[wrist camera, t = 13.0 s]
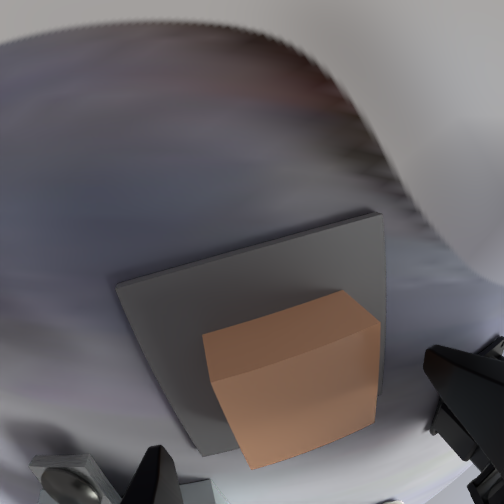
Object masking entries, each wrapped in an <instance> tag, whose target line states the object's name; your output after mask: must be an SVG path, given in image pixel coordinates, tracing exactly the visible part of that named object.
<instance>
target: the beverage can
mask: <svg viewBox="0 0 504 504" xmlns="http://www.w3.org/2000/svg"><path fill="white" fill-rule="evenodd" d="M382 504H404V503H403V502H402V501H400V500H397V501H393V502H385V503H382Z"/></svg>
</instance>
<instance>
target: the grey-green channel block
mask: <svg viewBox="0 0 504 504" xmlns="http://www.w3.org/2000/svg"><path fill="white" fill-rule="evenodd" d="M179 486H180V490H181V494H182V498H183V503H184V504H230V503H229V502H228V501H227V500H226V498H225V497H224V496H223V495H222V493H221V492H220V491H219V490H218V488H217V487H216V486H215V484H214V483H213V482H212V480H211V479H210V480H205V481H200V482H194V483H189V484H183V485H179ZM38 504H57V503H56V502H55V500H54V499H53V498H51V497H50V496H49V495H48V493H47V492H46V491H45V490H41V491H40V496H39V501H38Z"/></svg>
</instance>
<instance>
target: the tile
mask: <svg viewBox="0 0 504 504" xmlns="http://www.w3.org/2000/svg"><path fill="white" fill-rule="evenodd" d="M380 328H381V322H380V321H378V320H377V319H376V318H375V317H374V316H373V315H372V314H370V313H369V312H368V311H367V310H366V309H365V308H363V307H362V306H361V305H360V304H359V303H358V302H356V301H355V300H354V299H353V298H352V297H351V296H349V295H348V294H347V293H346V292H345V291H344V290H341V291H338V292H335V293H332V294H329V295H326V296H324V297H321V298H318V299H315V300H312V301H309V302H306V303H303V304H300V305H297V306H294V307H291V308H288V309H285V310H282V311H279V312H276V313H273V314H270V315H266V316H263V317H260V318H257V319H254V320H250V321H247V322H244V323H240V324H237V325H234V326H230V327H227V328H224V329H220V330H217V331H213V332H210V333H206V334H203V335H202V338H203V344H204V349H205V355H206V361H207V366H208V372H209V377H210V382H211V385H212V387H213V390H214V392H215V394H216V396H217V399H218V401H219V403H220V406H221V408H222V410H223V412H224V414H225V417H226V419H227V421H228V423H229V425H230V428H231V430H232V432H233V434H234V436H235V438H236V440H237V442H238V444H239V446H240V449H241V451H242V453H243V455H244V457H245V459H246V461H247V463H248V465H249V467H250V469H251V470H253V469H257V468H260V467H264V466H267V465H270V464H274V463H277V462H280V461H283V460H286V459H289V458H292V457H295V456H298V455H300V454H303V453H306V452H309V451H311V450H314V449H316V448H319V447H321V446H324V445H326V444H329V443H331V442H334V441H336V440H338V439H341V438H343V437H345V436H347V435H350V434H352V433H354V432H356V431H358V430H360V429H363V428H365V427H367V426H369V425H371V424H373V423H374V422H375V413H376V403H377V391H378V377H379V360H380Z"/></svg>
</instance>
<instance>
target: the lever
mask: <svg viewBox="0 0 504 504" xmlns="http://www.w3.org/2000/svg"><path fill="white" fill-rule="evenodd" d="M28 467H29V468H30V469H31V471H32V472H33V474H34V475H35V476H36V478H37V479H38V480H39V482H40V483H41V484H42V486H43V488H44V490H45V491H46V492H47V493H48V495H49V496H50V497H51V498H53V499H54V500H55V502H56V503H57V504H120V502H121V500H122V498H121V497H120V496H119V494H118V493H117V492H116V490H115V489H114V488H113V486H112V485H111V484H110V482H109V481H108V480H107V478H106V477H105V475H104V474H103V473H102V471H101V470H100V468H99V467H98V465H97V464H96V462H95V461H94V459H93V458H92V456H91V455H90V454H83V455H35V457H34V458H33V460H32V461H31V463H30V464H29V466H28Z"/></svg>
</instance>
